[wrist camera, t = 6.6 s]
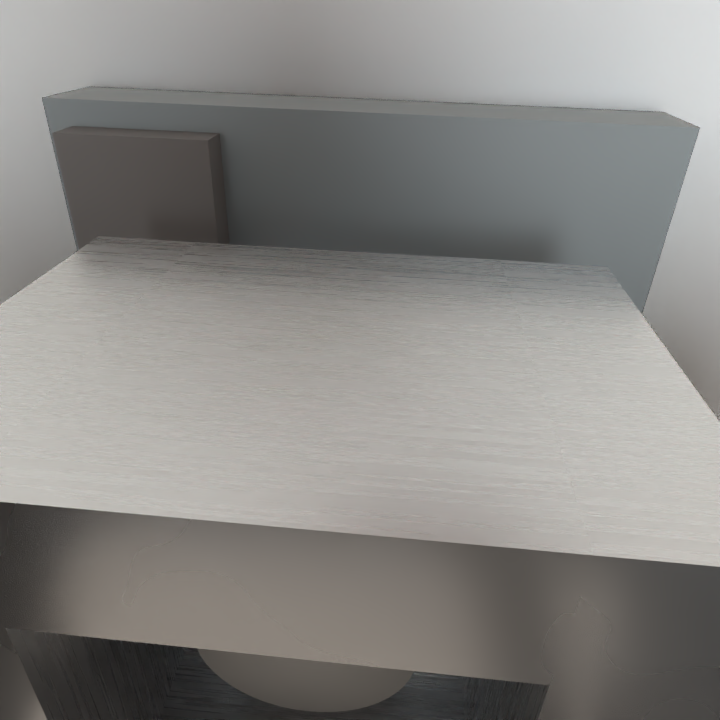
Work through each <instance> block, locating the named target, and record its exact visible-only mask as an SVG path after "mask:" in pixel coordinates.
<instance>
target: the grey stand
mask: <svg viewBox="0 0 720 720" xmlns="http://www.w3.org/2000/svg"><path fill="white" fill-rule="evenodd" d="M42 100H43V104H44V109H45V113H46V117H47V121H48V126H49V130H50V134H51V139H52V143H53V147H54V152H55V156H56V160H57V165H58V169H59V173H60V177H61V182H62V186H63V190H64V195H65V199H66V203H67V208H68V212H69V216H70V221H71V225H72V229H73V234H74V238H75V242H76V246H77V251H78V250H79V249H81V248H82V247H84V246H85V245H87V244H88V243H90V242H91V241H92V240H94V239H95V238H97V237H98V236H106V237H122V238H139V239H156V240H173V241H190V242H207V243H223V244H240V245H257V246H274V247H291V248H308V249H324V250H341V251H358V252H375V253H392V254H409V255H425V256H442V257H459V258H476V259H493V260H510V261H526V262H543V263H560V264H577V265H594V266H607V267H608V268H609V270H610V271H611V273H612V274H613V275H614V277H615V278H616V279H617V281H618V282H619V284H620V285H621V286H622V288H623V289H624V290H625V292H626V293H627V295H628V296H629V297H630V299H631V300H632V302H633V303H634V304H635V306H636V307H637V308H638V310H639V311H640V313H641V314H642V312H643V309H644V306H645V302H646V299H647V296H648V293H649V290H650V286H651V283H652V280H653V277H654V274H655V270H656V267H657V264H658V261H659V258H660V254H661V251H662V248H663V245H664V241H665V238H666V235H667V232H668V229H669V225H670V222H671V219H672V216H673V213H674V209H675V206H676V203H677V200H678V197H679V193H680V190H681V187H682V184H683V181H684V177H685V174H686V171H687V168H688V164H689V161H690V158H691V155H692V152H693V148H694V145H695V142H696V139H697V136H698V132H699V129H700V127H697V126H695V125H693V124H690V123H688V122H686V121H683V120H681V119H679V118H676V117H674V116H672V115H669V114H667V113H665V112H650V111H627V110H604V109H582V108H559V107H537V106H514V105H491V104H469V103H446V102H423V101H401V100H378V99H355V98H333V97H310V96H288V95H265V94H242V93H220V92H197V91H174V90H152V89H129V88H106V87H85V88H81V89H77V90H72V91H68V92H64V93H60V94H55V95H51V96H47V97H43V98H42ZM197 650H198V652H199V654H200V656H201V657H202V658H203V660H204V661H205V663H206V664H207V665H208V666H209V667H210V668H211V670H212V671H213V672H214V673H215V674H217V675H218V676H219V677H220V678H221V679H222V680H224V681H225V682H227V683H228V684H230V685H231V686H233V687H234V688H236V689H238V690H240V691H241V692H243V693H245V694H247V695H249V696H252V697H254V698H256V699H259V700H262V701H264V702H267V703H270V704H274V705H277V706H281V707H285V708H290V709H295V710H302V711H312V712H339V711H348V710H355V709H360V708H364V707H368V706H371V705H373V704H376V703H379V702H381V701H383V700H385V699H387V698H389V697H391V696H392V695H394V694H395V693H397V692H398V691H399V690H400V689H401V688H402V687H404V686H405V684H406V683H407V682H408V681H409V679H410V678H411V676H412V674H413V672H414V671H408V670H399V669H389V668H380V667H370V666H361V665H351V664H341V663H332V662H322V661H313V660H303V659H294V658H284V657H275V656H265V655H256V654H246V653H236V652H227V651H217V650H208V649H198V648H197Z"/></svg>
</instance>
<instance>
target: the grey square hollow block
mask: <svg viewBox="0 0 720 720" xmlns="http://www.w3.org/2000/svg"><path fill="white" fill-rule="evenodd" d="M197 648H198V649H208V650H217V651H227V652H236V653H246V654H256V655H265V656H275V657H284V658H294V659H303V660H313V661H322V662H332V663H341V664H351V665H361V666H370V667H380V668H389V669H399V670H408V671H414V672H413V674H412V676H411V678H410V679H409V681H408V682H407V683H406V684H405V686H404V687H402V688H401V689H400V690H399V691H398V692H397V693H395V694H394V695H392V696H391V697H389V698H387V699H385V700H383V701H381V702H379V703H376V704H373V705H371V706H368V707H364V708H360V709H355V710H348V711H339V712H312V711H302V710H295V709H290V708H285V707H281V706H277V705H274V704H270V703H267V702H264V701H262V700H259V699H256V698H254V697H252V696H249V695H247V694H245V693H243V692H241V691H240V690H238V689H236V688H234V687H233V686H231V685H230V684H228V683H227V682H225V681H224V680H222V679H221V678H220V677H219V676H218V675H217V674H215V673H214V672H213V671H212V670H211V668H210V667H209V666H208V665H207V664H206V663H205V661H204V660H203V658H202V657H201V656H200V654H199V652H198V650H197ZM0 720H720V422H719V420H718V419H717V417H716V416H715V415H714V413H713V412H712V410H711V409H710V408H709V406H708V405H707V404H706V402H705V401H704V399H703V398H702V397H701V395H700V394H699V393H698V391H697V390H696V388H695V387H694V386H693V384H692V383H691V382H690V380H689V379H688V377H687V376H686V375H685V373H684V372H683V370H682V369H681V368H680V366H679V365H678V364H677V362H676V361H675V359H674V358H673V357H672V355H671V354H670V353H669V351H668V350H667V348H666V347H665V346H664V344H663V343H662V342H661V340H660V339H659V337H658V336H657V335H656V333H655V332H654V330H653V329H652V328H651V326H650V325H649V324H648V322H647V321H646V319H645V318H644V317H643V315H642V314H641V313H640V311H639V310H638V308H637V307H636V306H635V304H634V303H633V302H632V300H631V299H630V297H629V296H628V295H627V293H626V292H625V290H624V289H623V288H622V286H621V285H620V284H619V282H618V281H617V279H616V278H615V277H614V275H613V274H612V273H611V271H610V270H609V268H608V267H607V266H594V265H577V264H560V263H543V262H526V261H510V260H493V259H476V258H459V257H442V256H425V255H409V254H392V253H375V252H358V251H341V250H324V249H308V248H291V247H274V246H257V245H240V244H223V243H207V242H190V241H173V240H156V239H139V238H122V237H106V236H98V237H97V238H95V239H94V240H92V241H91V242H90V243H88V244H87V245H85V246H84V247H82V248H81V249H79V250H78V251H77V252H75V253H74V254H72V255H71V256H69V257H68V258H67V259H65V260H64V261H62V262H61V263H59V264H58V265H56V266H55V267H54V268H52V269H51V270H49V271H48V272H46V273H45V274H43V275H42V276H41V277H39V278H38V279H36V280H35V281H33V282H32V283H30V284H29V285H28V286H26V287H25V288H23V289H22V290H20V291H19V292H18V293H16V294H15V295H13V296H12V297H10V298H9V299H7V300H6V301H5V302H3V303H2V304H0Z"/></svg>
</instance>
